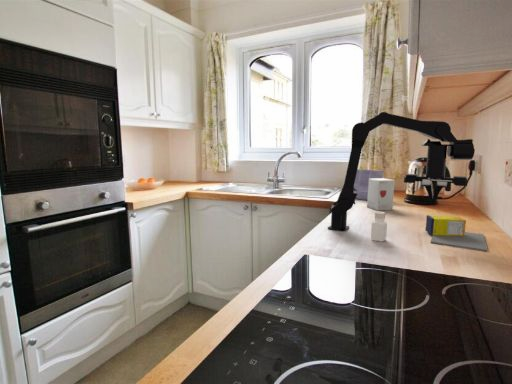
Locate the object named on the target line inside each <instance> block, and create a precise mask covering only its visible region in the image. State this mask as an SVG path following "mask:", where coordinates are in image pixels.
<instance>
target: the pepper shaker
mask: <svg viewBox="0 0 512 384" xmlns="http://www.w3.org/2000/svg"><path fill="white" fill-rule="evenodd" d="M385 218H386V212H385V211H384V212H383V211H375V212H374V220H373V221H372V222H371V226H370V227H371V230H370V231H371V233H370V240H372V241H375V242H380V243H382V242H384V241H386V240H387V229H388V222H386V221H385Z"/></svg>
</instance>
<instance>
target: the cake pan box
mask: <svg viewBox="0 0 512 384" xmlns="http://www.w3.org/2000/svg"><path fill="white" fill-rule="evenodd" d="M371 178H384V170H377V169H376V170H375V169H364V168H363V169H362V168H361V169H360V168H358V169H357V174H356V178H355V183H354V191H357V196H356V198H355V200H365V201H367V199H368V185H369V179H371Z"/></svg>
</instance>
